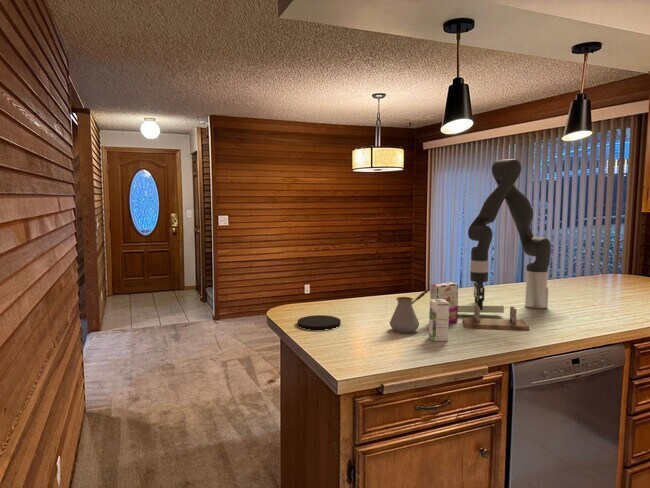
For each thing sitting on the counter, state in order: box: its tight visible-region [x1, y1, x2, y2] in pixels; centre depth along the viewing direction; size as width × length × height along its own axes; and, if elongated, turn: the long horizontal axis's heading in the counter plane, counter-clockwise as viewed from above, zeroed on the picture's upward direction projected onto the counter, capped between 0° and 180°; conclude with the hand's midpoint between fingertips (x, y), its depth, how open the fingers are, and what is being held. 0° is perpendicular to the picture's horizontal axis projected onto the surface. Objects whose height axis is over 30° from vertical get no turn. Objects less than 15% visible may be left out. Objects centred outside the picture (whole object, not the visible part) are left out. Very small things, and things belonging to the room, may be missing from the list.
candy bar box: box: [429, 281, 459, 324], centre depth 190 cm, size 11×5×16 cm, turn 117°
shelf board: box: [458, 302, 505, 314], centre depth 201 cm, size 20×6×3 cm, turn 82°
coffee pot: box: [389, 288, 432, 334], centre depth 181 cm, size 21×12×15 cm, turn 128°
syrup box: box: [428, 299, 450, 342], centre depth 167 cm, size 6×6×14 cm
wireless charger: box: [297, 314, 342, 331], centre depth 188 cm, size 18×18×2 cm
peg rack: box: [462, 306, 530, 331], centre depth 185 cm, size 24×10×8 cm, turn 80°
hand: (478, 307), depth 201 cm, fingers closed on shelf board, 6 cm apart
